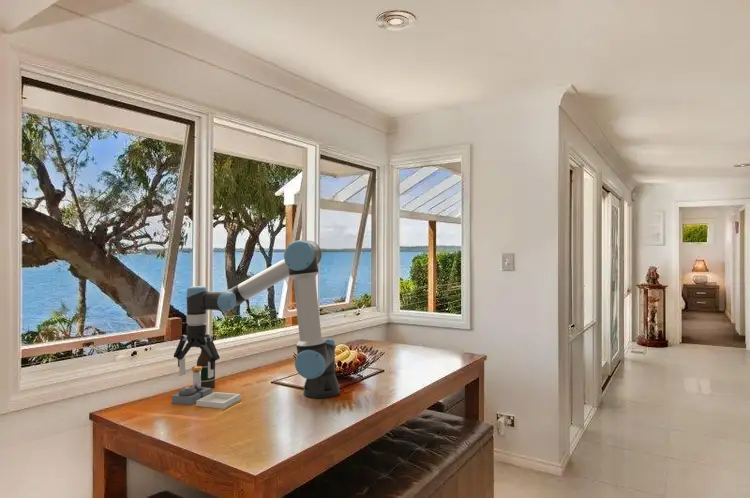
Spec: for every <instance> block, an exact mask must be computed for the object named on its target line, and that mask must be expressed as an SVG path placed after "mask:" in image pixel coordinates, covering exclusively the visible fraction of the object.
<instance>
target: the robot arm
mask: <svg viewBox="0 0 750 498" xmlns="http://www.w3.org/2000/svg"><path fill="white" fill-rule="evenodd" d="M283 252H284V253H283V259H282V260H280V261H278V262H276V263H274V264H272V265H271V266H268V267H267V268H266V269H263V270H262V271H260V272H258V273H257V274H255V275H253V276H251V277H249V278H248V279H246V280H244V281H241V283H239V284H237V285H235V286H233V287H232V288H229V289H226V290H221V291H220V290H218V291H208V290H207V287H206V286H205V285H195V286H194V285H193V286H188V288H186V298H185V299H186V324H187V325H186V334H183V335H180V337H179V342H178V345H177V347H176V349H175V352H174V354H173V358H176V359H177V366H178V368H179V369H178V370H179V375H178V376H184V375H186V357H185V356H186V355H187V353H188V352H189V351H190V349H191V348H199V349H200V350H201V349H202V350H203V352H204V353H205V355H206V356H207V358H208V359H209V362H208V378H211V377H214V369H215V370H216V361H218V360H220V358H221V357H220V355H219V353H218V350H217V348H216V345H215V343H214V338H213V336H212V335H211V336H210V337H206V336H205V334H207V325H206V323H207V311H209V310H210V311H224V312H225V311H231V310H234V308H235V307H238V306H240V305H241V304H243V302H245V301H247V300H249V299H251V298H253V297H254V296H257V295H258V294H260V293H262V292H263V291H265V290H267V289H269V288H271V287H272V286H274V285H276V284H278V283H279V282H281V281H283V280H286V279H287V278H289V277H290V278H292V279H293V287H294V297H295V305H296V306H295V307H296V317H297V326H298V336H299V339H298V341H297V342H296V354H297V355H296V357H295V360H294V368H295V370H296V372H297V374H299V375H300V376H301V377H302V378H304V379H305V382H304V385H303V393H302V394H303V396H305V397H308V398H313V399H325V398H332V397H336V396H337V395H339V393H340V385H339V382H338V378H337V376H336V344H335V343H336V342H335V340H334V339H332V338H323V336H322V329H321V328H322V327H321V319H320V311H319V301H318V299H319V298H318V291H317V283H316V281H317V280H316V276H317V275H318V273H319V263H320V262H321V260H322V253H323V252H322V249H321V247H320V245H318V243H316V242H315V241H312V240H307V239H306V240H305V239H298V240H294V241H292V242H290V243H289V244H288V245H287V247H286V248H285V249H284V251H283ZM205 341H206V342H207V344H206V342H205ZM186 342H187V343H186ZM207 345H208V347H209V348H208V347H207ZM209 349H210V350H209Z"/></svg>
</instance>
